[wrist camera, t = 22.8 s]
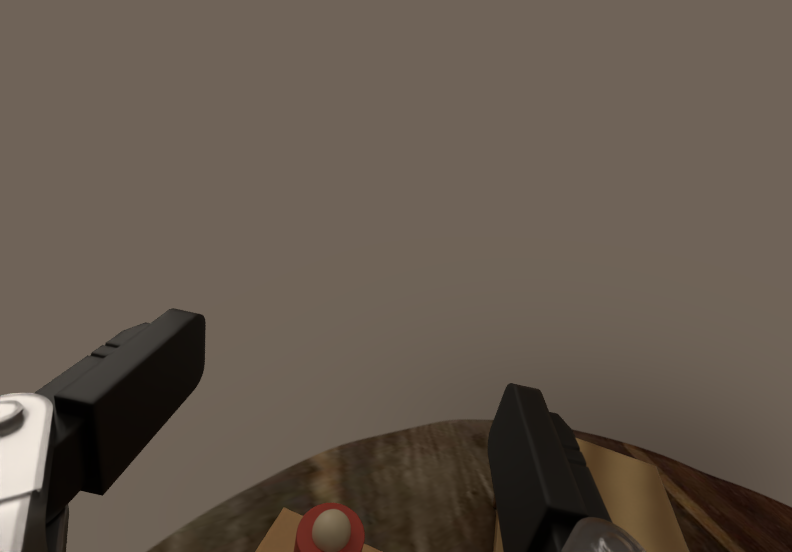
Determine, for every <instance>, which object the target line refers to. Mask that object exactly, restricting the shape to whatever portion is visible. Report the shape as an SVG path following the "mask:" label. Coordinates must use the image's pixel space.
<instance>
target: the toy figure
mask: <svg viewBox="0 0 792 552" xmlns="http://www.w3.org/2000/svg"><path fill="white" fill-rule="evenodd" d="M364 539H365V533H364V528H363V525H362V522H361V520H360V518H359V517H358V516H357V514H356V513H355V512H354V511H352V510H351V509H350V508H348V507H346V506H344V505H341V504H337V503H324V504H320V505H318V506H316V507H314V508H312V509H311V510H309V511H308V512H307V513H306V514H305V515H304V516H303V518H302V519H301V521H300V523H299V525H298V528H297V533H296V539H295V546H294V552H362V549H363V545H364Z"/></svg>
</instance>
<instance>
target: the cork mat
mask: <svg viewBox="0 0 792 552" xmlns="http://www.w3.org/2000/svg"><path fill="white" fill-rule="evenodd" d="M302 518H303V516H302V515H299V514H297V513H295V512H293V511H290V510H288V509H286V508H283V510H282V511H281V513H280V514H279V516H278V517H277V519H276V521H275V522H274V524H273V525H272V527H271V528H270V530H269V531H268V533H267V534H266V536H265V538H264V539H263V541H262V542H261V544H260V545H259V547H258V548H257V550H256V551H255V552H294V546H295V539H296V533H297V528H298V525H299V523H300V521H301V519H302ZM362 552H382V551H379V550H377V549H375V548H373V547H371V546H368V545H366V544H364V545H363V549H362Z"/></svg>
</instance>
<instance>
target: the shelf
mask: <svg viewBox="0 0 792 552" xmlns="http://www.w3.org/2000/svg"><path fill="white" fill-rule="evenodd" d="M576 440H577V442H578V444H579V447H580V452H582V454H583V456H584V458H585V460H586V467H589V470H590V472H591V474H592V476H593V479H594V481H595V483H596V486H597V488H598V490H599V493H600V495H601V497H602V499H603V502H604V504H605V506H606V509H607V511H608V513H609V515H610V518H611V520H612V522H613V523H614V524H615V525H617V526H619V527H620V528H622V529H624V530H625V531H626V532H628V533H629V534H630V535H631V536H632V537H633V538H635V539H636V540H637V541H638V542H639V544H640V545H641V546H642V547H643V548H644V549H645V551H646V552H689V550H688V548H687V545H686V543H685V540H684V537H683V535H682V532H681V530H680V527H679V525H678V522H677V519H676V517H675V514H674V512H673V509H672V507H671V504H670V501H669V499H668V496H667V494H666V491H665V489H664V486H663V483H662V481H661V478H660V476H659V473H658V471H657V468H656V466H654V465H651V464H648V463H645V462H642V461H639V460H637V459H634V458H631V457H628V456H625V455H623V454H620V453H617V452H614V451H611V450H608V449H606V448H603V447H600V446H597V445H594V444H592V443H589V442H586V441H583V440H580V439H577V438H576ZM493 507H494V508H496V509H497V507H496V501H495V494H494V501H493ZM493 552H504V551H503V545H502V538H501V532H500V526H499V520H498V513H497V511H496V524H495V537H494V550H493Z"/></svg>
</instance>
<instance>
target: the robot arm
mask: <svg viewBox="0 0 792 552" xmlns="http://www.w3.org/2000/svg"><path fill="white" fill-rule="evenodd" d="M204 362H205V318H204V316H203V315H201V314H197V313H192V312H188V311H183V310H178V309H169V310H168V311H166V312H165V313H164V314H162V315H161V316H160V317H158V318H157V319H156V320H154V321H153V322H152V323H143V324H140V325H137V326H135V327H132V328H129V329H127V330H124V331H122V332H120V333H119V334H118V335H116V336H115V337H114V338H112V339H111V340H109V341H108V342H106V344H105V346H104V345H102V346H100V347H99V348H98V349H96V350H95V351H93V352H92V353H91V355H90V356H86V357H85V358H84V359H82V360H81V361H79V362H78V363H76V364H75V365H73V366H72V367H71V368H69V369H68V370H66V371H65V372H63V373H62V374H61V375H59V376H58V377H56V378H55V379H53V380H52V381H51V382H49V383H48V384H46V385H45V386H43V387H42V388H41V389H39V390H38V391H36V392H35V393H13V394H6V395H1V396H0V552H66V543H67V531H68V519H69V508H68V503H69V502H70V501H71V500H72V499H73V498H74V497H75V496H76V494H77V493H78V492H79V491H85V492H89V493H93V494H98V495H104V493H105V492H106V491H107V490H108V489H109V487H111V485H112V484H113V483H114V482H115V481H116V480H117V478H118V477H119V476H120V475H121V474H122V473H123V472H124V470H125V469H126V468H127V467H128V466H129V465H130V463H131V462H132V461H133V460H134V459H135V458H136V456H137V455H138V454H139V453H140V452H141V451H142V450H143V448H144V447H145V446H146V445H147V444H148V443H149V441H150V440H151V439H152V438H153V437H154V436H155V434H156V433H157V432H158V431H159V430H160V429H161V428H162V426H163V425H164V424H165V423H166V422H167V421H168V419H169V418H170V417H171V416H172V415H173V414H174V413H175V411H176V410H177V409H178V408H179V407H180V406H181V404H182V403H183V402H184V401H185V400H186V399H187V397H188V396H189V395H190V394H191V393H192V392H193V391H194V389H195V388H196V387H197V385H198V383H199V382H200V379H201V377H202V374H203V371H204V364H205V363H204ZM488 457H489V463H490V469H491V476H492V482H493V488H494V494H495V501H496V507H497V513H498V520H499V526H500V532H501V538H502V545H503V551H504V552H646V551H645V549H644V548H643V547H642V546H641V545H640V544H639V542H638V541H637V540H636V539H635V538H633V537H632V536H631V535H630V534H629V533H628V532H626V531H625V530H624V529H622V528H620V527H619V526H617V525H615V524H614V523H613V522H612V520H611V518H610V515H609V513H608V511H607V509H606V506H605V504H604V502H603V499H602V497H601V495H600V493H599V490H598V488H597V486H596V483H595V481H594V479H593V476H592V474H591V472H590V470H589V467H586V460H585V458H584V456H583V454H582V452H580V447H579V444H578V442H577V440H576V438H575V435H574V433H573V431H572V429H571V428H570V427H569V426H568V425H567V424H566V423H565V422H564V420H563V419H562V418H561V417H560V416H559V415H558V414H556V413H551V412H549V411H548V408H547V405H546V403H545V400H544V398H543V395H542V393H541V391H540V390H539V389H535V388H531V387H526V386H521V385H517V384H512V383H510V384H508V385H507V387H506V389H505V391H504V394H503V397H502V400H501V402H500V405H499V407H498V410H497V413H496V416H495V418H494V421H493V424H492V426H491V429H490V433H489V439H488Z"/></svg>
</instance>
